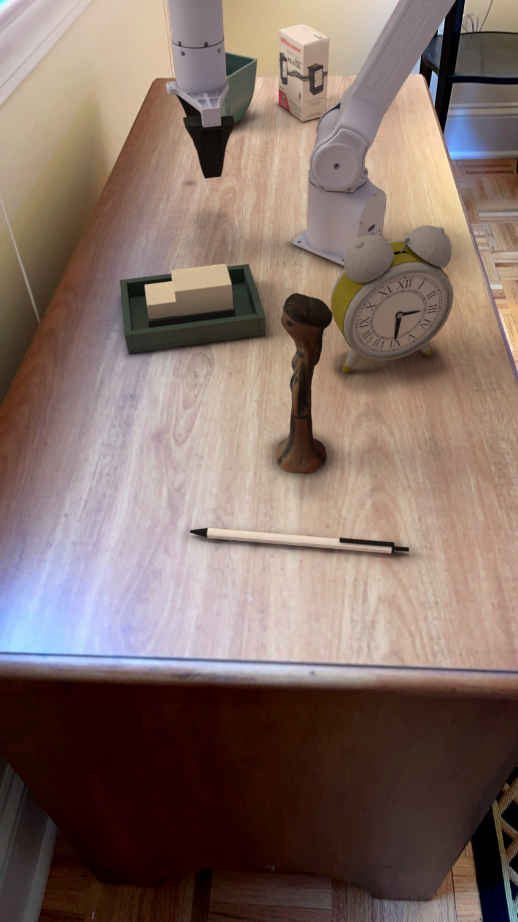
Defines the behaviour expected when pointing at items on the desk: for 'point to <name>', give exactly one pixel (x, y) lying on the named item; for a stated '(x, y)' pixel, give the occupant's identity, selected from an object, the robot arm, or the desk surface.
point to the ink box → (303, 71)
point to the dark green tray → (193, 333)
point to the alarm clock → (393, 294)
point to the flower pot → (239, 85)
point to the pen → (300, 540)
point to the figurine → (303, 382)
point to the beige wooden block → (190, 296)
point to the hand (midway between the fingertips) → (207, 161)
